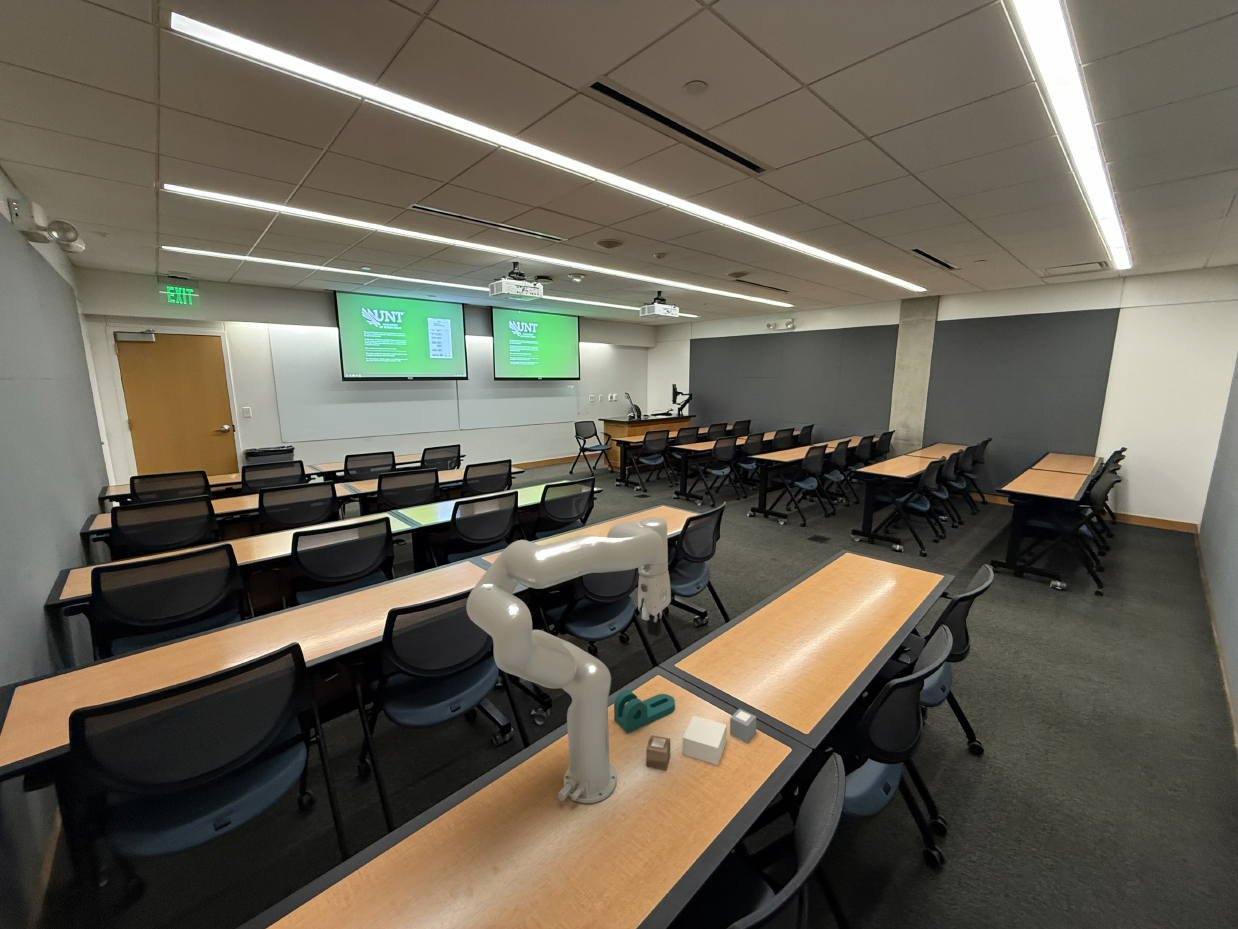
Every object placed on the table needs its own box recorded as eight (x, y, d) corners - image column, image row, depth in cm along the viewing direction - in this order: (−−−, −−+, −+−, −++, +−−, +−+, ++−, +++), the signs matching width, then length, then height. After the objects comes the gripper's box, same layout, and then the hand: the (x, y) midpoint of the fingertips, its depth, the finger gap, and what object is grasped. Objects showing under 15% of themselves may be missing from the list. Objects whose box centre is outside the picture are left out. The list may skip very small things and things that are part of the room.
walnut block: (666, 771, 116) (666, 751, 116) (646, 767, 118) (646, 747, 117) (670, 756, 121) (670, 737, 120) (651, 752, 123) (651, 733, 122)
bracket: (627, 734, 129) (626, 708, 128) (614, 720, 135) (613, 695, 134) (679, 710, 138) (679, 685, 137) (665, 698, 144) (665, 674, 143)
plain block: (717, 766, 118) (717, 748, 117) (682, 755, 122) (682, 737, 121) (726, 742, 126) (726, 724, 125) (693, 732, 130) (693, 715, 129)
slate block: (747, 743, 125) (747, 725, 124) (730, 734, 128) (730, 716, 127) (756, 733, 128) (756, 715, 127) (739, 725, 132) (739, 707, 131)
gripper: (652, 579, 113) (653, 651, 116) (679, 559, 126) (679, 625, 129) (625, 573, 117) (627, 643, 120) (653, 555, 130) (655, 618, 133)
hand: (654, 633), depth 124 cm, fingers closed
